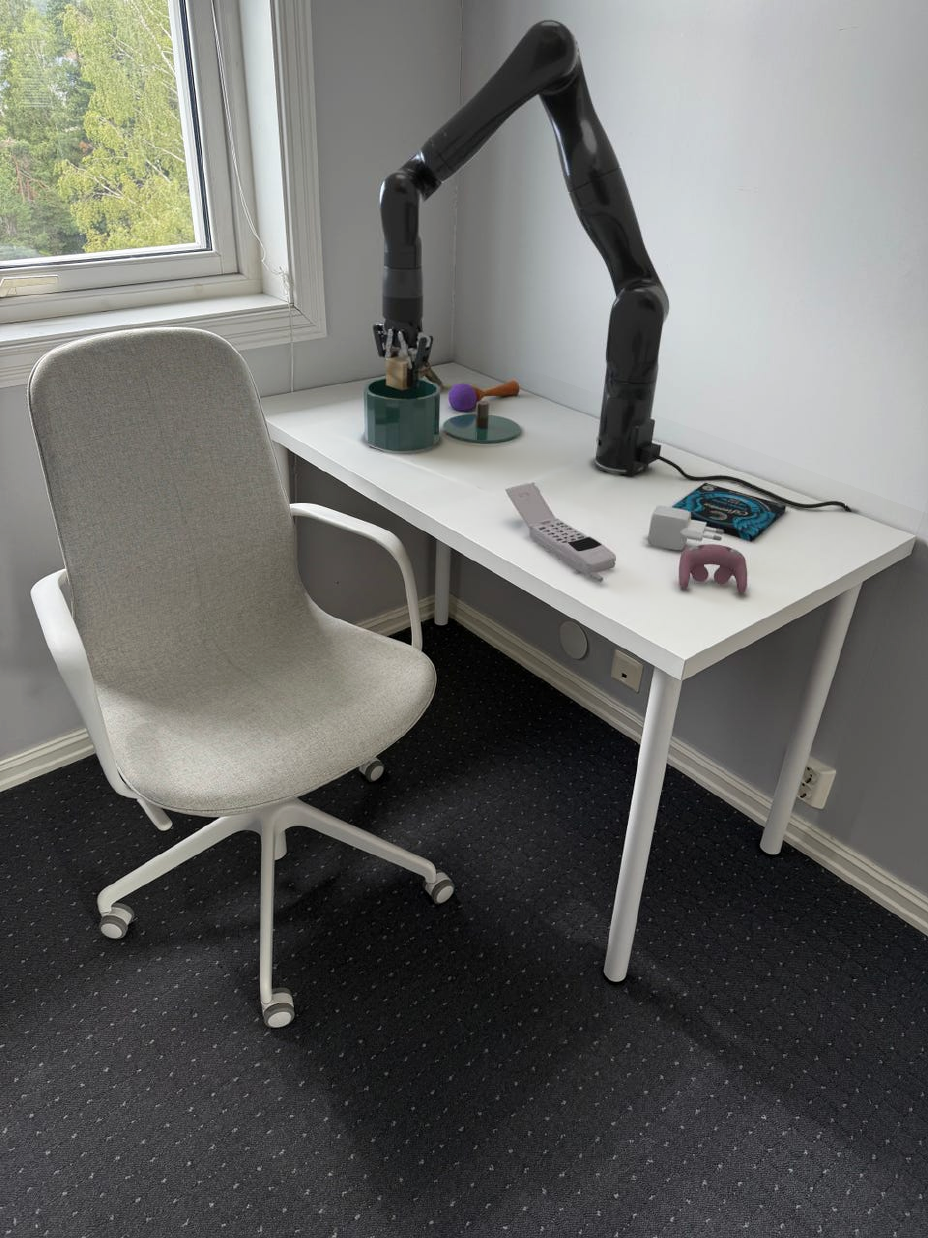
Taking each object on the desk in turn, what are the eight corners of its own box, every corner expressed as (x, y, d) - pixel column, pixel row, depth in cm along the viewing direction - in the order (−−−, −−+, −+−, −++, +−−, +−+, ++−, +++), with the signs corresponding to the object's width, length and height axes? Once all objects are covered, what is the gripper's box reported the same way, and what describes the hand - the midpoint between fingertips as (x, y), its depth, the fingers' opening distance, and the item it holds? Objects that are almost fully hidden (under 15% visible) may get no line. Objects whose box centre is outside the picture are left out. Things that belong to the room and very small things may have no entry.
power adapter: (720, 548, 145) (727, 514, 142) (716, 561, 141) (723, 527, 138) (651, 534, 148) (656, 501, 145) (645, 547, 145) (650, 513, 141)
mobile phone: (532, 481, 151) (631, 540, 132) (530, 513, 154) (626, 576, 136) (502, 488, 148) (598, 550, 130) (500, 521, 151) (594, 586, 133)
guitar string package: (786, 505, 157) (753, 534, 147) (784, 512, 158) (752, 541, 148) (705, 482, 165) (668, 508, 154) (704, 489, 166) (667, 515, 155)
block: (418, 385, 175) (418, 359, 173) (402, 390, 172) (402, 363, 170) (402, 380, 178) (402, 354, 175) (386, 385, 175) (385, 358, 172)
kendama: (526, 381, 204) (465, 392, 190) (519, 405, 207) (459, 418, 194) (507, 370, 207) (446, 380, 193) (501, 394, 210) (440, 406, 197)
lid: (535, 432, 187) (538, 403, 184) (486, 452, 177) (488, 421, 174) (476, 413, 196) (478, 385, 193) (426, 431, 186) (427, 401, 182)
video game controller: (741, 593, 136) (745, 546, 135) (748, 595, 131) (753, 546, 131) (674, 588, 136) (678, 541, 136) (679, 589, 132) (683, 541, 131)
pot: (454, 440, 182) (456, 388, 176) (402, 459, 172) (402, 405, 167) (401, 422, 190) (401, 371, 184) (349, 439, 180) (348, 387, 174)
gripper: (445, 295, 165) (443, 388, 174) (389, 282, 172) (389, 372, 181) (417, 301, 160) (416, 397, 169) (360, 287, 168) (362, 379, 176)
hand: (402, 383), depth 175 cm, fingers closed on block, 4 cm apart
